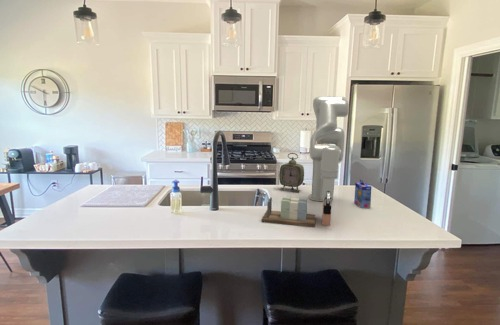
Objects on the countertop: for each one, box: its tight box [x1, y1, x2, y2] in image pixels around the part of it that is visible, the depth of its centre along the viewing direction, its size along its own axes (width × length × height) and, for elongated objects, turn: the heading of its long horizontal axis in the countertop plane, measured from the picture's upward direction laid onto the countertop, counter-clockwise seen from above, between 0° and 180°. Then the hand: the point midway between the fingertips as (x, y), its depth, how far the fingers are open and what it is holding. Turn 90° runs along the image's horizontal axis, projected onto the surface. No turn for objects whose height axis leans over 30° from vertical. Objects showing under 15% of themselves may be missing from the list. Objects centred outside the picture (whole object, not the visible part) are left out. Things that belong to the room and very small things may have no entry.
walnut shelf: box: [261, 196, 316, 228], centre depth 139 cm, size 13×24×10 cm, turn 77°
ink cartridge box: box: [353, 179, 372, 209], centre depth 163 cm, size 10×6×14 cm, turn 3°
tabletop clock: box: [278, 152, 305, 193], centre depth 193 cm, size 14×9×25 cm, turn 62°
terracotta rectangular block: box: [321, 198, 333, 227], centre depth 136 cm, size 7×4×12 cm, turn 167°
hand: (326, 210), depth 136 cm, fingers open, 9 cm apart
